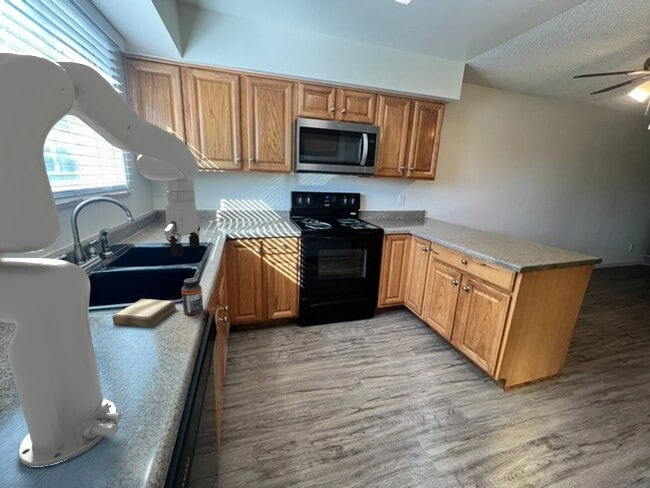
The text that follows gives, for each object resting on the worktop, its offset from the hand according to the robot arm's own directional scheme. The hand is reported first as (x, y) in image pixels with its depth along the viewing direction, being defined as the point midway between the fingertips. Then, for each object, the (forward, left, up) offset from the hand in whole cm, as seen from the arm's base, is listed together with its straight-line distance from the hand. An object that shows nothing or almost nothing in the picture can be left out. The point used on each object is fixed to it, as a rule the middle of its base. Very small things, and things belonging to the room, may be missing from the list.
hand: (186, 251), depth 87 cm
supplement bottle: (0, 0, -21) cm, 21 cm away
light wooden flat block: (+13, +5, -21) cm, 25 cm away
